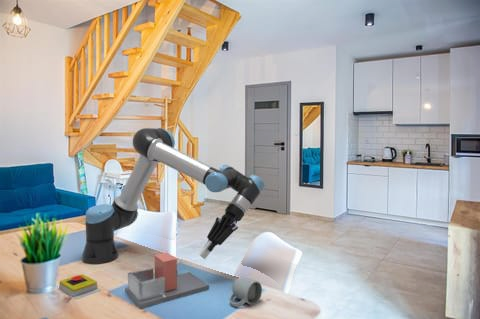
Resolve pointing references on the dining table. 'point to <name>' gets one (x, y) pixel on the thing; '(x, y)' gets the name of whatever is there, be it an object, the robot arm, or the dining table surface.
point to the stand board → (174, 290)
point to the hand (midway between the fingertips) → (201, 256)
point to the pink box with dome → (166, 270)
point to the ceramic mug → (246, 291)
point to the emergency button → (79, 286)
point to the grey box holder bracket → (145, 284)
